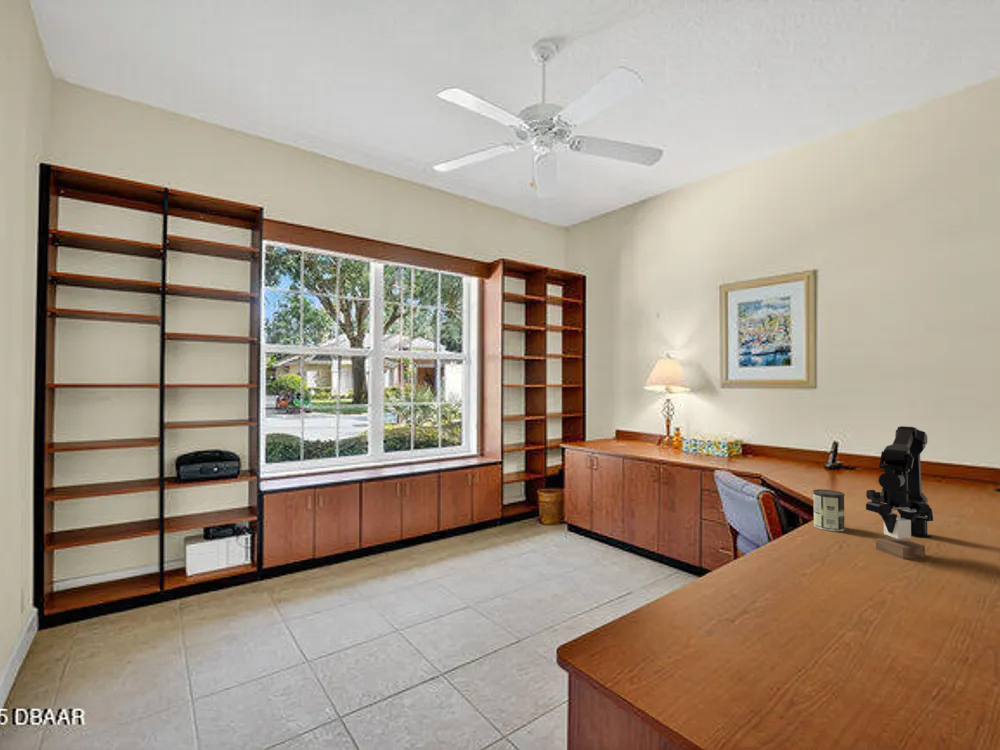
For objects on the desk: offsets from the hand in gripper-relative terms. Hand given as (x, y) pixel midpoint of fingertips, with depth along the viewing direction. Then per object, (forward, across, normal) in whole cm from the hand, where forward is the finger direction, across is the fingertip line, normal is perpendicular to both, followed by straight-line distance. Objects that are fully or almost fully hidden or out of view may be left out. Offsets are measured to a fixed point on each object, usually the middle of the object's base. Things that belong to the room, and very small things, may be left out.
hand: (897, 532), depth 160 cm
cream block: (+1, 0, 0) cm, 1 cm away
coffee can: (+7, 0, -28) cm, 29 cm away
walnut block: (+7, 0, 0) cm, 7 cm away
